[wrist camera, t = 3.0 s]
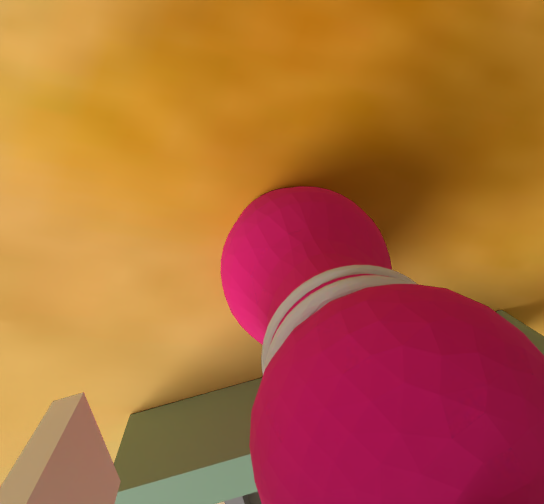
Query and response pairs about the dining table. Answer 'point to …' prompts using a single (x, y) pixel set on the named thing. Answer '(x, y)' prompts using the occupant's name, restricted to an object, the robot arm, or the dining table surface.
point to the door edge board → (200, 446)
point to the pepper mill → (375, 368)
